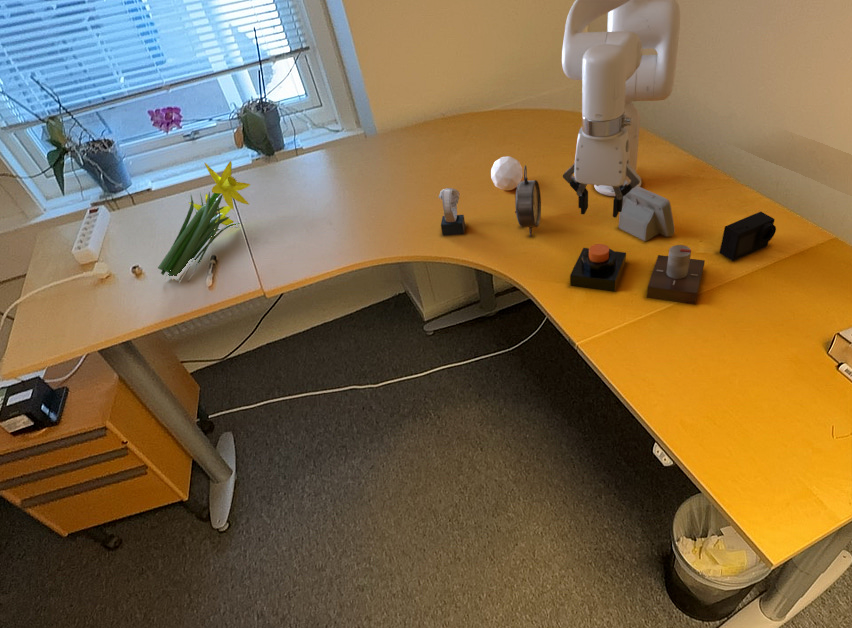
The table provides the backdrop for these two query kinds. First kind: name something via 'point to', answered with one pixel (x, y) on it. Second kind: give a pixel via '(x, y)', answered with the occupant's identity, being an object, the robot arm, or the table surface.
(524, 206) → the alarm clock
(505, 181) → the white faceted rounded piece
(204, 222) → the daffodil flowers
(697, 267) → the dial panel
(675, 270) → the dial
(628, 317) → the table surface
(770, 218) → the digital camera
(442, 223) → the watch
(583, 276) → the button box
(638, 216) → the digital clock
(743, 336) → the table surface
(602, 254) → the button
